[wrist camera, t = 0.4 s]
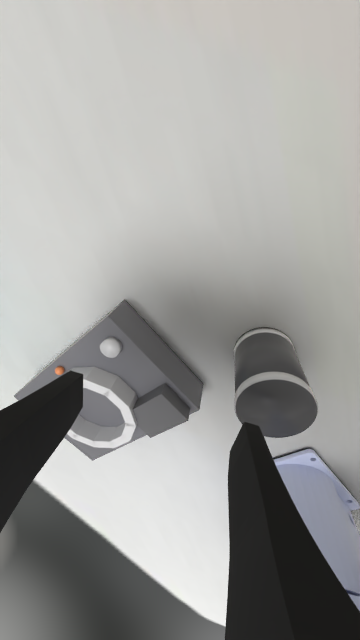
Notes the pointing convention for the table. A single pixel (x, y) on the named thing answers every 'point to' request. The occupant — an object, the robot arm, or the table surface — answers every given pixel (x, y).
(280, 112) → the table surface
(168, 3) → the table surface
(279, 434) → the lens
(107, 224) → the table surface
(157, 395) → the camera body
